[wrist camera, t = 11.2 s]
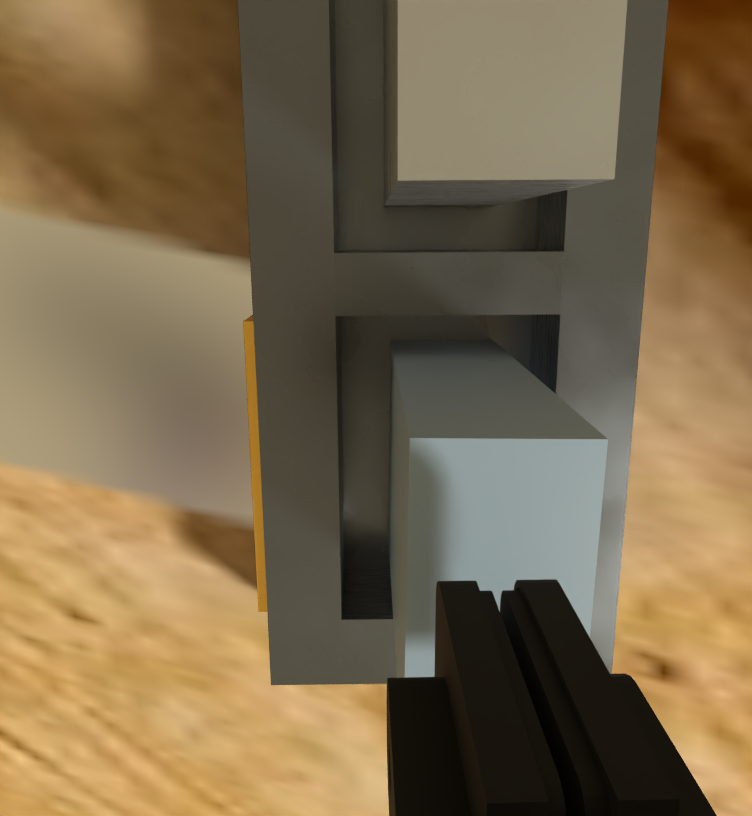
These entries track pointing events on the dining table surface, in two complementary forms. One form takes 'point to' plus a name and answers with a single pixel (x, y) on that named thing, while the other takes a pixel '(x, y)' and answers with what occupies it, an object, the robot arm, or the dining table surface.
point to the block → (484, 486)
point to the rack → (430, 265)
